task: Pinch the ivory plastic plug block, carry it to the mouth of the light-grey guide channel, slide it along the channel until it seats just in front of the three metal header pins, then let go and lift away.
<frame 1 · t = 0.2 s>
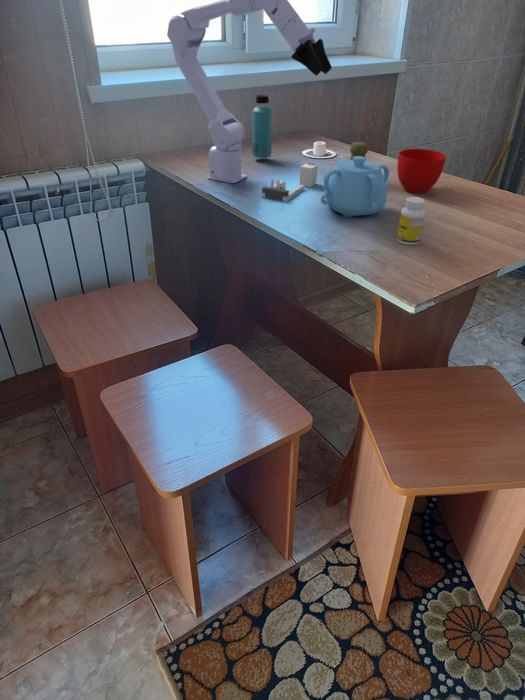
hand: (324, 71, 128), 31 cm above the table, tool tilted 45°, fingers open, 7 cm apart
candle holder: (318, 156, 181), on the table
beverage bottle: (261, 160, 173), on the table
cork: (355, 180, 157), on the table
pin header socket: (281, 194, 145), on the table
ceramic cup: (418, 189, 151), on the table
supplement bottle: (407, 241, 119), on the table
decorative pot: (352, 210, 136), on the table
plug block: (308, 184, 153), on the table
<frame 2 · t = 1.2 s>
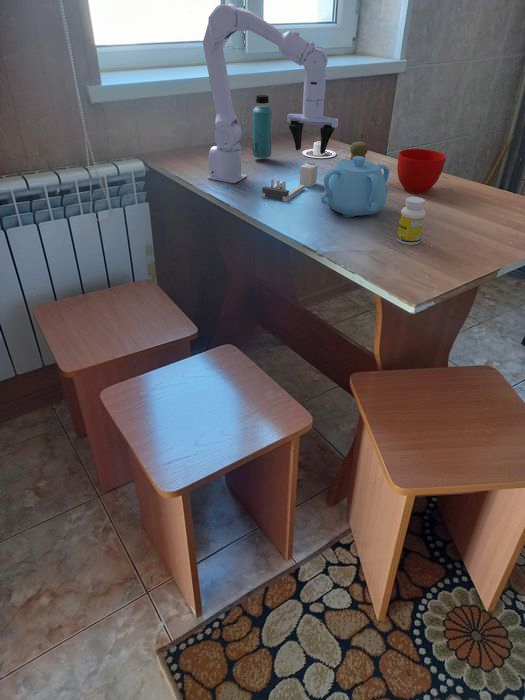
hand: (310, 151, 147), 9 cm above the table, tool pointing down, fingers open, 7 cm apart
nothing on the table moved.
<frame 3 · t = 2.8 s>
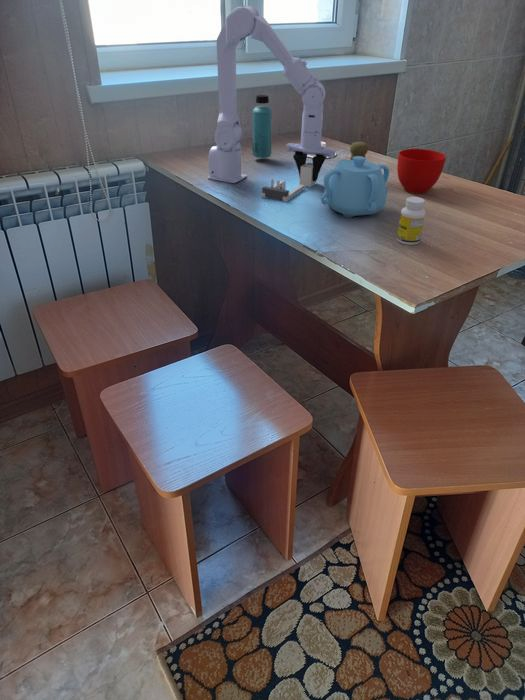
hand: (308, 179, 152), 1 cm above the table, tool pointing down, fingers closed on plug block, 3 cm apart
plug block: (308, 184, 153), on the table, touching gripper
everything else where it was.
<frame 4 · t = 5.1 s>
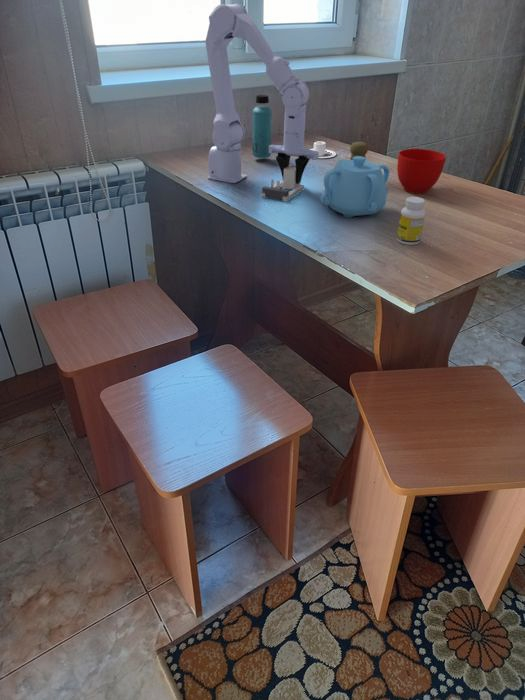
hand: (291, 181, 149), 2 cm above the table, tool pointing down, fingers closed on plug block, 3 cm apart
plug block: (291, 186, 150), on the table, touching gripper
everything else where it was.
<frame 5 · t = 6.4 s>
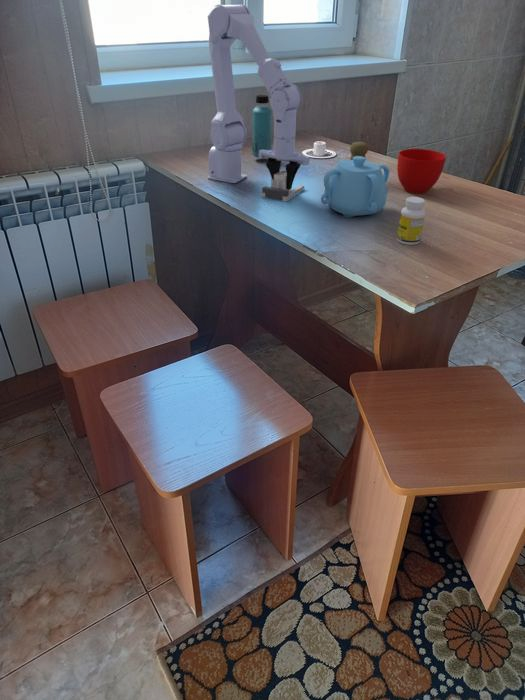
hand: (282, 187, 144), 2 cm above the table, tool pointing down, fingers closed on plug block, 3 cm apart
plug block: (282, 193, 145), on the table, touching gripper
everything else where it was.
when the fingers open (2 cm above the table, at t = 7.5 s): plug block stays where it is, on the table.
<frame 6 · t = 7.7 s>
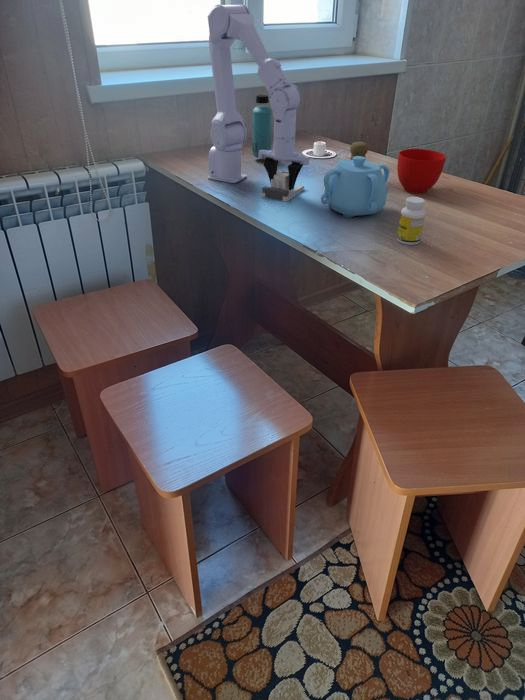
hand: (282, 187, 144), 2 cm above the table, tool pointing down, fingers open, 5 cm apart
plug block: (282, 193, 145), on the table
everything else where it was.
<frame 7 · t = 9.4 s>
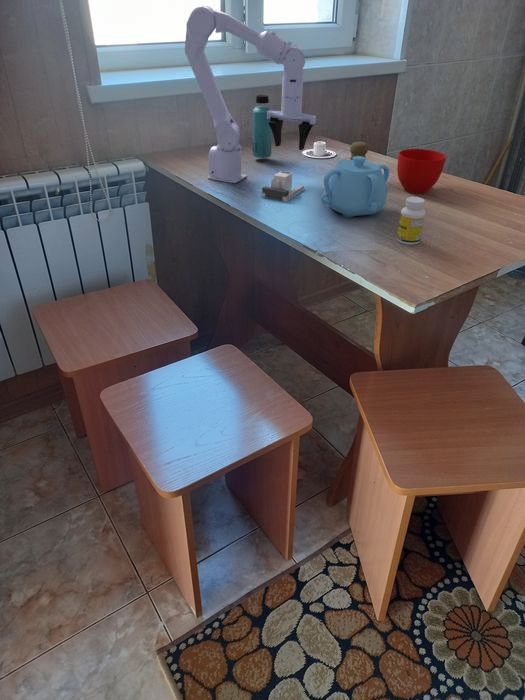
hand: (289, 147, 150), 9 cm above the table, tool pointing down, fingers open, 7 cm apart
nothing on the table moved.
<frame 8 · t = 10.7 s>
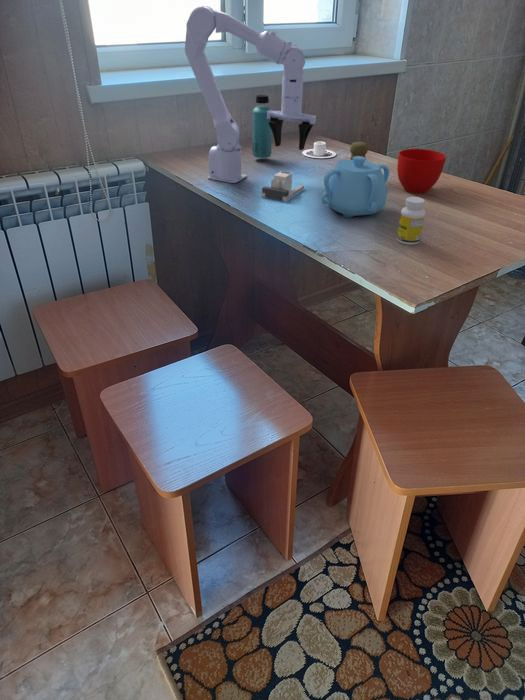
hand: (289, 147, 150), 9 cm above the table, tool pointing down, fingers open, 7 cm apart
nothing on the table moved.
at the end: plug block 0.2 cm off-centre on the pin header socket, point 0.0 cm above the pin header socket's base; plug block tilted 0°; the gripper is holding nothing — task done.
